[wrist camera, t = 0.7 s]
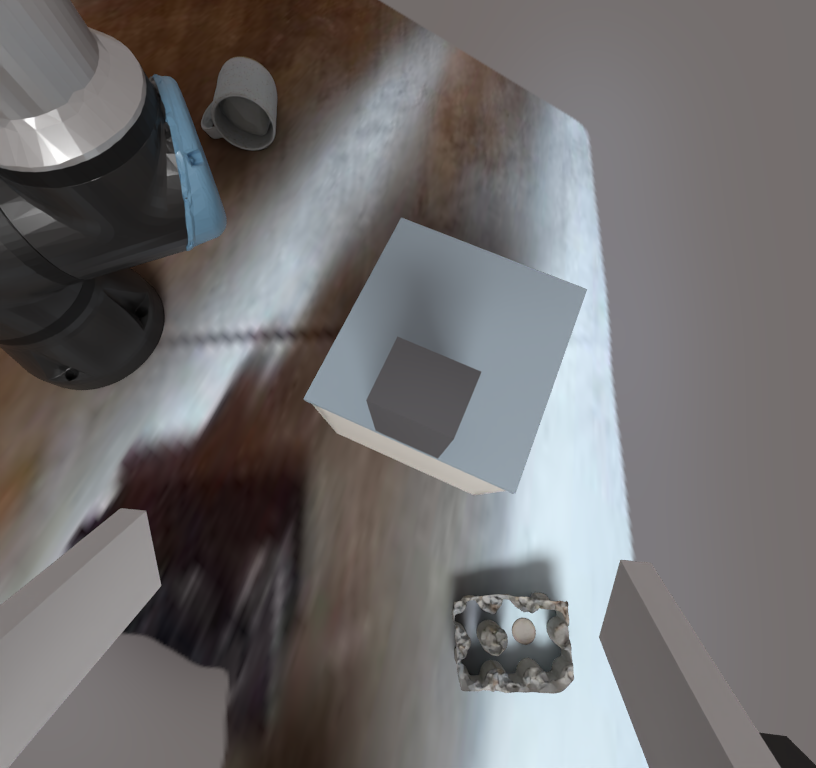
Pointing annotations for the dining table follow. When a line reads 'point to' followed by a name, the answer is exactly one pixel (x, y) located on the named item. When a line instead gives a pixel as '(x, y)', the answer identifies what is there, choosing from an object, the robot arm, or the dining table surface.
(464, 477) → the storage box
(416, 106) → the dining table surface
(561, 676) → the grey piece
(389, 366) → the lid
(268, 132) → the ceramic mug
